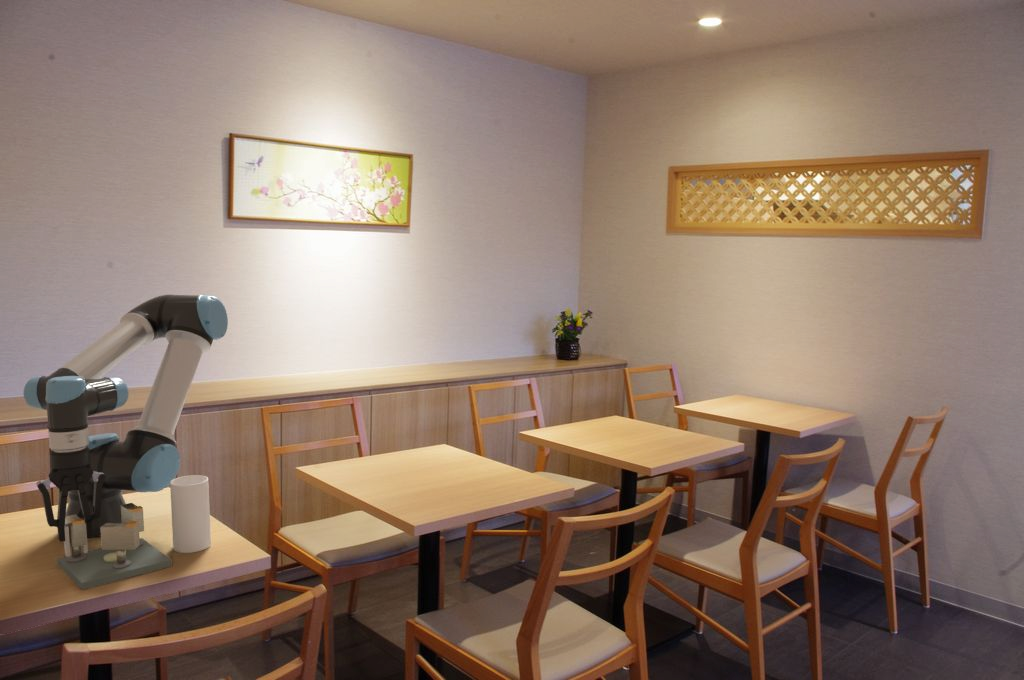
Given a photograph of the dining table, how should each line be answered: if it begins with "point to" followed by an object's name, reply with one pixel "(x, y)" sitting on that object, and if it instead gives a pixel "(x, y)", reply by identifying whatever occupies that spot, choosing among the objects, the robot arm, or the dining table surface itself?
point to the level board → (112, 565)
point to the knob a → (76, 533)
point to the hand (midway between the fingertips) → (76, 552)
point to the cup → (190, 513)
